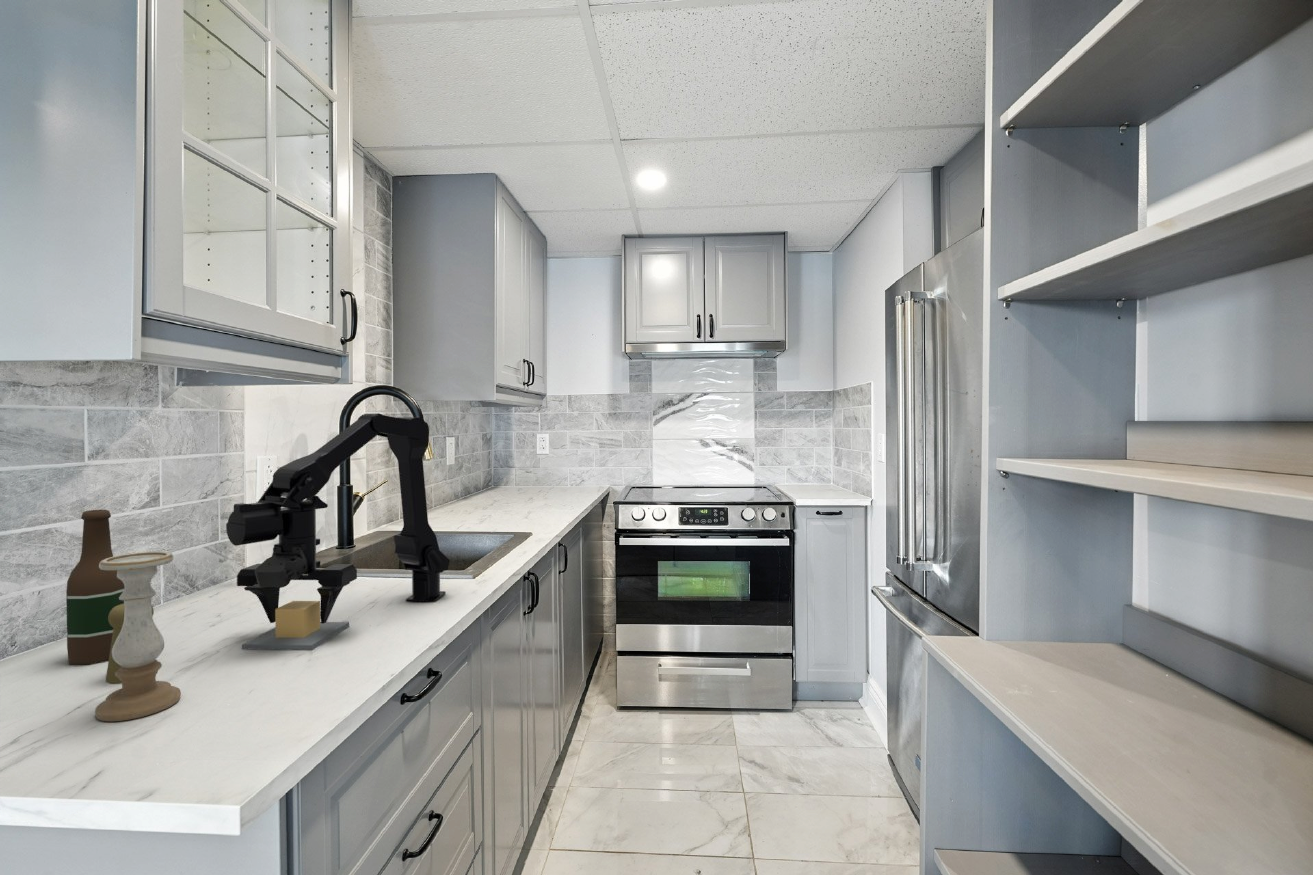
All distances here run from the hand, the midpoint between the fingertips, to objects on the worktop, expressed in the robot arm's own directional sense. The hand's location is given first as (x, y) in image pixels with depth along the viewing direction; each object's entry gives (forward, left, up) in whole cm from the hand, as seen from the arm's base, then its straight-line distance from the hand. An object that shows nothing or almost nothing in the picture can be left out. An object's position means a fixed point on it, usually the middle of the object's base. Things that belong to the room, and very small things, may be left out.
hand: (298, 622), depth 109 cm
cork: (+17, -15, -3) cm, 23 cm away
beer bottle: (+10, -27, -3) cm, 29 cm away
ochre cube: (0, 0, -2) cm, 2 cm away
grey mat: (0, 0, -3) cm, 3 cm away
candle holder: (+27, -5, -3) cm, 28 cm away
